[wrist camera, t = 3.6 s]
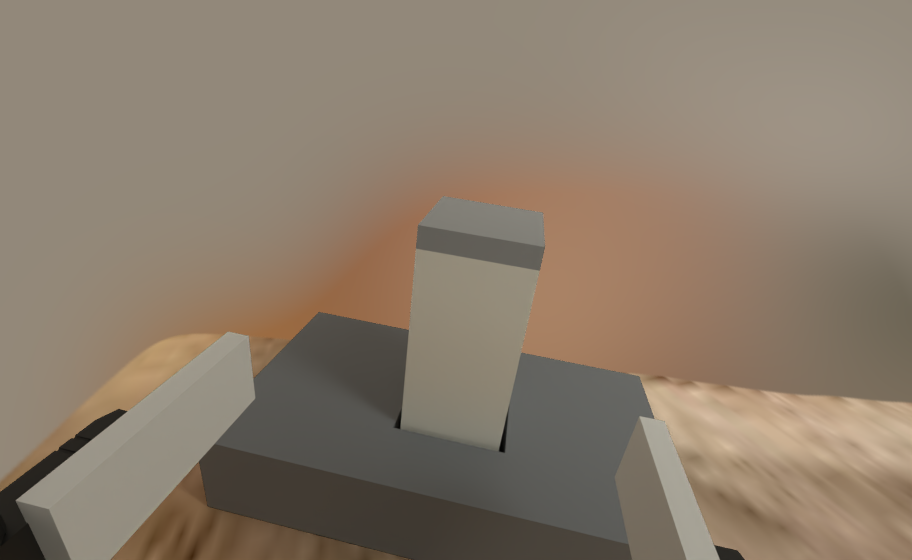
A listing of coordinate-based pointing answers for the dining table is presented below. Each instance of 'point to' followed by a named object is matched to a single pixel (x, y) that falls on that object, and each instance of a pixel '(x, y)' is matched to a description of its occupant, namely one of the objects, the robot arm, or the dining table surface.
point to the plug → (469, 318)
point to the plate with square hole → (427, 455)
